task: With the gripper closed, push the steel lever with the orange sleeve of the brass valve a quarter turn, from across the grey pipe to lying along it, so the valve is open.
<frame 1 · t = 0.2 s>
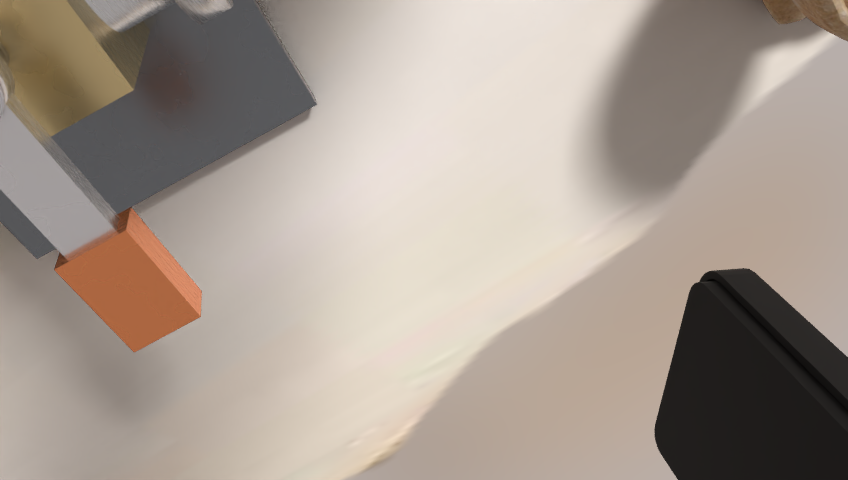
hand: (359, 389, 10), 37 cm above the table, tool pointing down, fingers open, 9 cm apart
valve lever: (62, 203, 32), point 14 cm above the table, hinge at 0.0°
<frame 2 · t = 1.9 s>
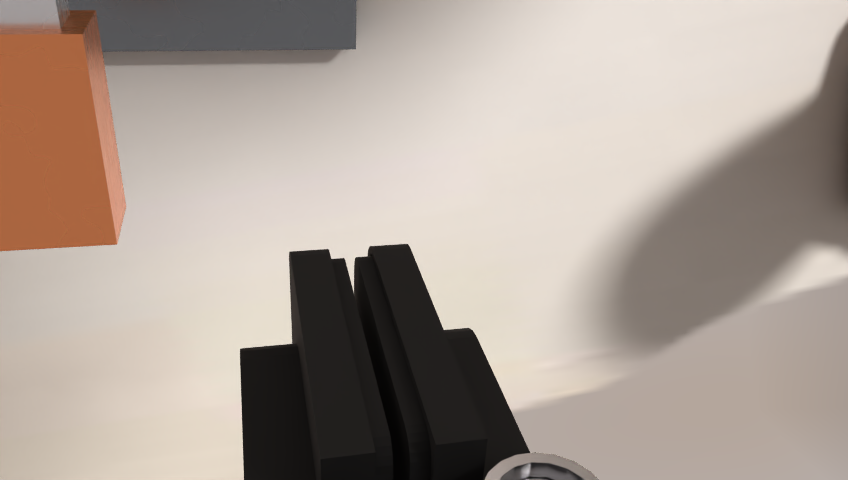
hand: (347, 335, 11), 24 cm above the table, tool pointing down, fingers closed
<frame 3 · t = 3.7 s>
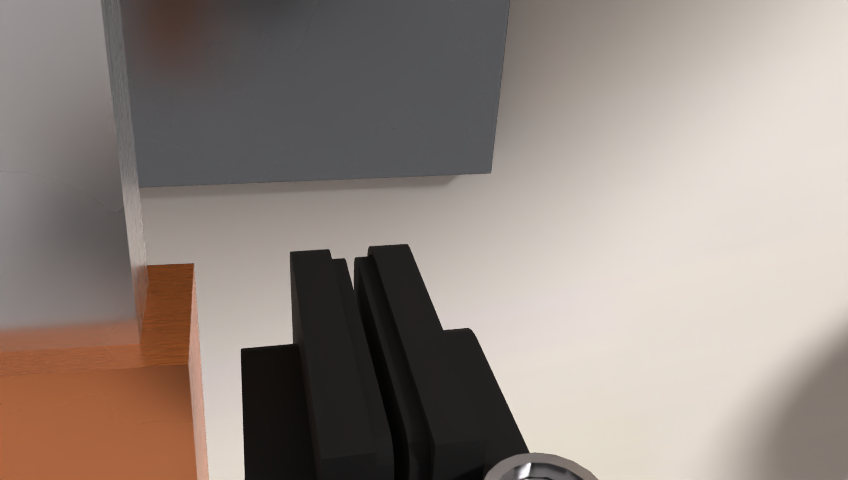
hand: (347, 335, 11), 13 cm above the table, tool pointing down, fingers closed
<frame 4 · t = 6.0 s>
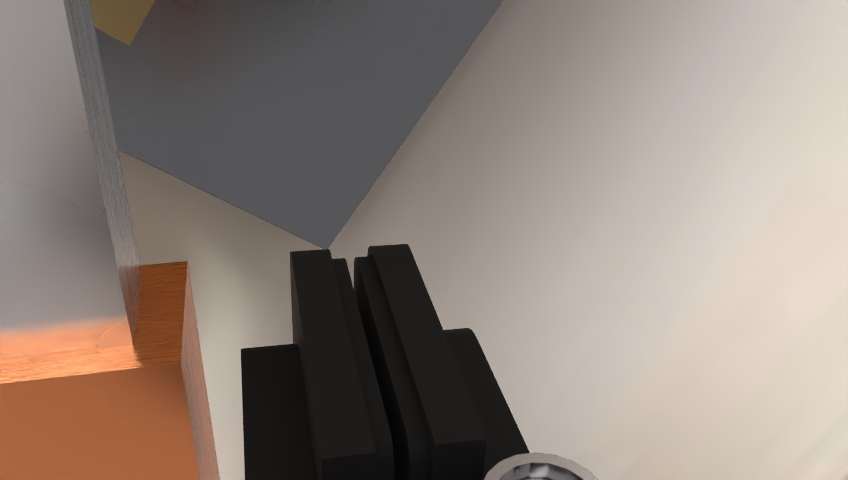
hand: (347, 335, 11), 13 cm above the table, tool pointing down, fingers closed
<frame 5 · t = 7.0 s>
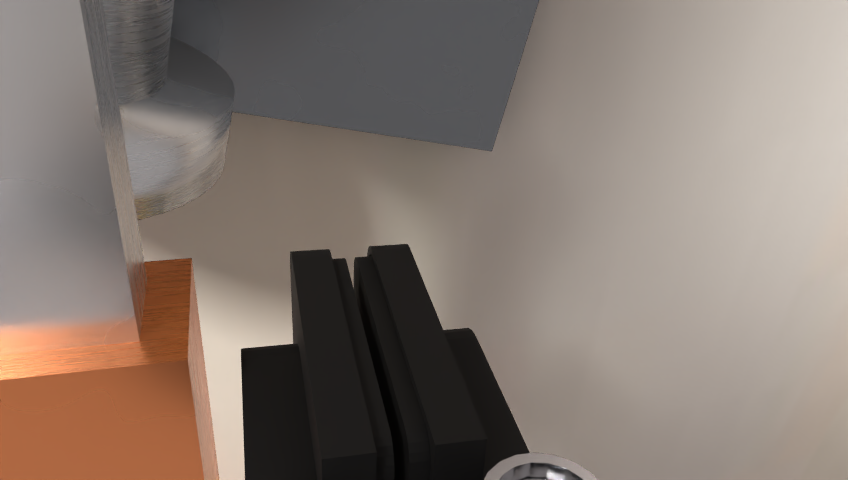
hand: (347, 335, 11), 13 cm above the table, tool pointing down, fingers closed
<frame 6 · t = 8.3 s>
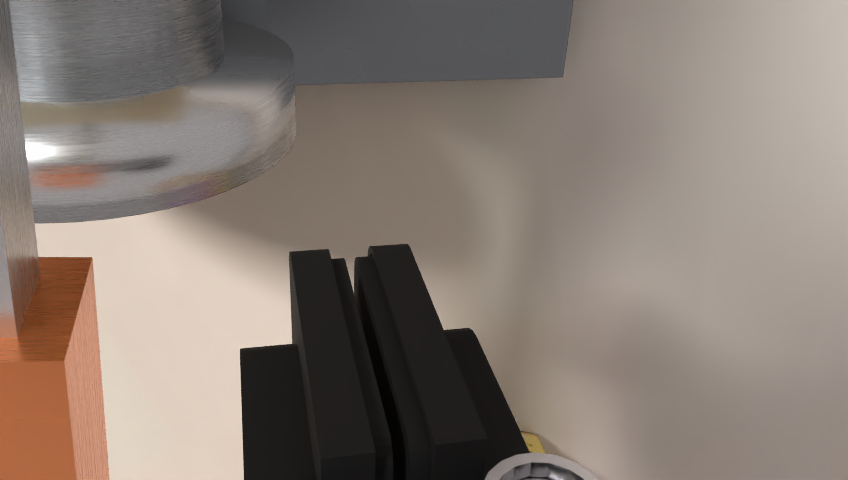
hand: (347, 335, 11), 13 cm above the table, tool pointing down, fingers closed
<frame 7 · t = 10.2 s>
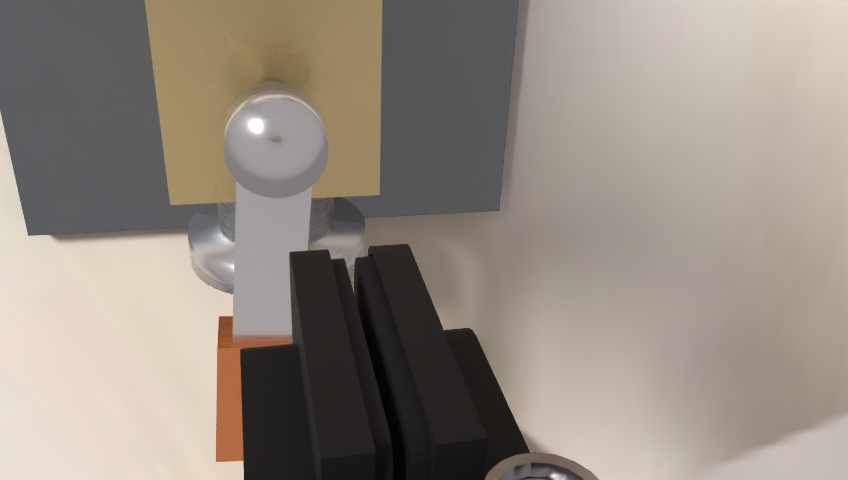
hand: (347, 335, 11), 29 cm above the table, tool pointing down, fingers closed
valve lever: (268, 286, 28), point 14 cm above the table, hinge at -95.3°
valve body: (266, 32, 37), on the table
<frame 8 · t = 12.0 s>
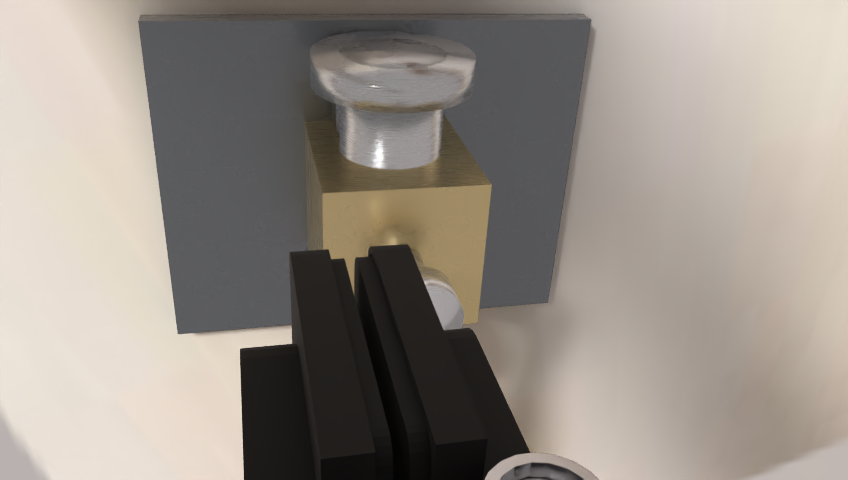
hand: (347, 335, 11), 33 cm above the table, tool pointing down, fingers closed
valve lever: (407, 404, 38), point 14 cm above the table, hinge at -95.3°
valve body: (371, 175, 47), on the table
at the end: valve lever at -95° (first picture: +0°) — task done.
